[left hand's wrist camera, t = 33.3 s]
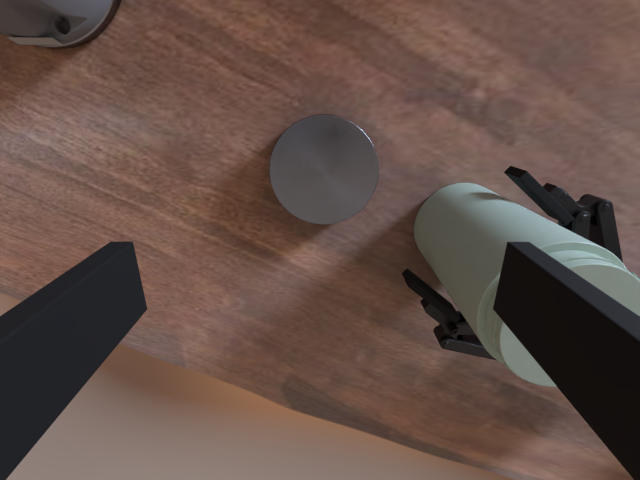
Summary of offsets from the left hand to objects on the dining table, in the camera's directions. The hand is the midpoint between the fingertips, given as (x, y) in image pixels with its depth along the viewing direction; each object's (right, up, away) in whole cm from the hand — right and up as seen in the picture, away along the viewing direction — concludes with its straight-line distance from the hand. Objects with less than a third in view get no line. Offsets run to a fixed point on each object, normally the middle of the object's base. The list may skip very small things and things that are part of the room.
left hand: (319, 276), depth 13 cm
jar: (+16, +3, +27) cm, 31 cm away
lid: (0, +8, +23) cm, 24 cm away
